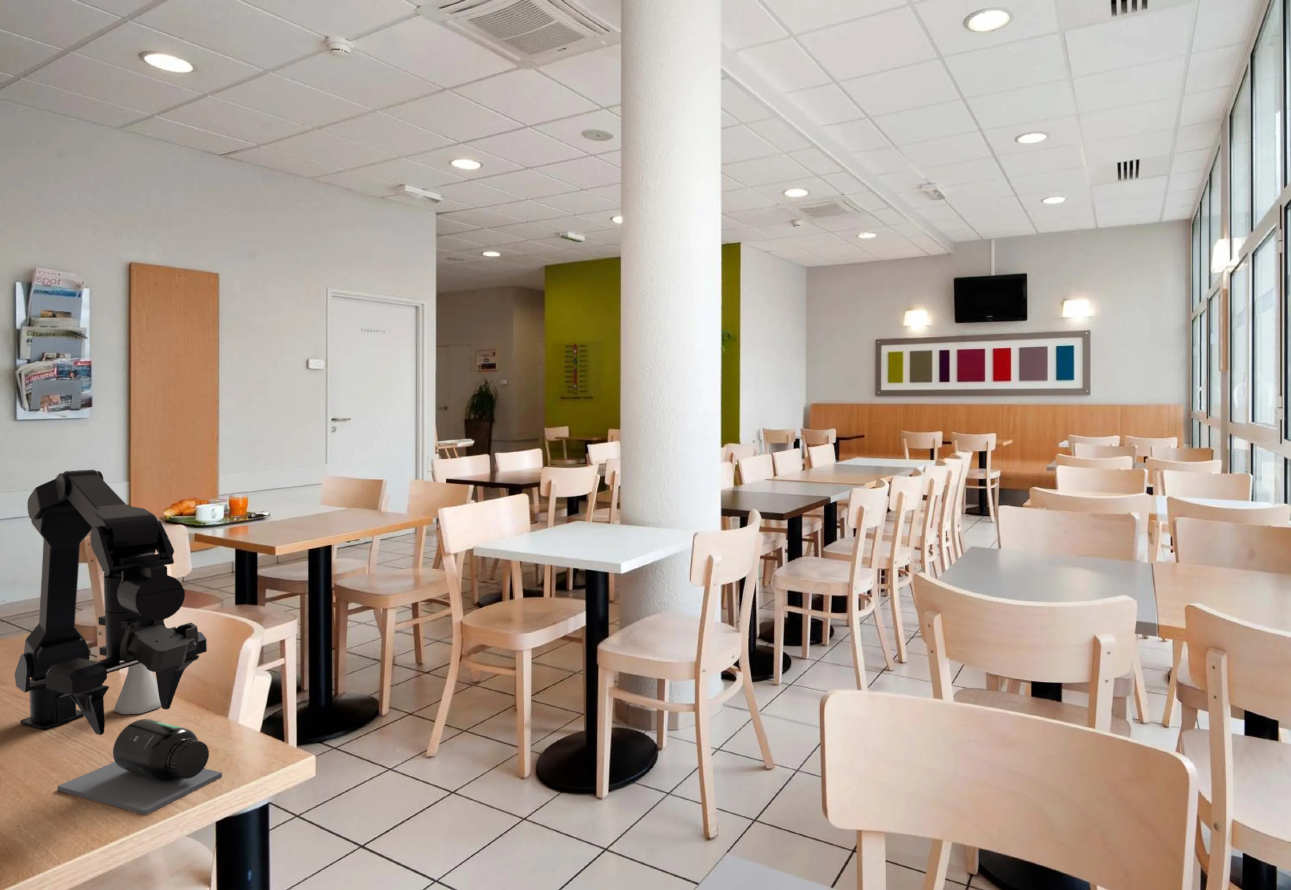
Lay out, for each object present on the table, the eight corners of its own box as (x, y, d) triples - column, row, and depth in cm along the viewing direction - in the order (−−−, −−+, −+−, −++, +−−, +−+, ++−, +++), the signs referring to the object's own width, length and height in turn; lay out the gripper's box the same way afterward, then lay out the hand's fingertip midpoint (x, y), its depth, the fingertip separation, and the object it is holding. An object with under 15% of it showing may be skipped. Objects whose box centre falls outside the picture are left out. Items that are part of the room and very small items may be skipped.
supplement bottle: (142, 707, 111) (199, 722, 106) (169, 737, 115) (225, 753, 110) (100, 749, 106) (158, 767, 101) (129, 779, 110) (186, 797, 105)
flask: (141, 717, 130) (139, 657, 129) (104, 714, 131) (102, 655, 131) (175, 701, 137) (174, 644, 137) (139, 698, 138) (138, 642, 138)
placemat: (57, 790, 105) (57, 785, 105) (137, 756, 116) (137, 752, 116) (145, 815, 99) (145, 810, 99) (222, 776, 109) (221, 772, 109)
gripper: (100, 632, 95) (104, 759, 96) (233, 597, 112) (236, 705, 113) (40, 622, 99) (45, 744, 100) (177, 590, 116) (181, 694, 117)
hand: (134, 721), depth 107 cm, fingers open, 9 cm apart
